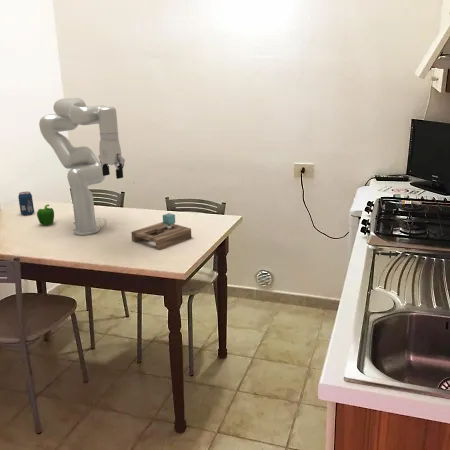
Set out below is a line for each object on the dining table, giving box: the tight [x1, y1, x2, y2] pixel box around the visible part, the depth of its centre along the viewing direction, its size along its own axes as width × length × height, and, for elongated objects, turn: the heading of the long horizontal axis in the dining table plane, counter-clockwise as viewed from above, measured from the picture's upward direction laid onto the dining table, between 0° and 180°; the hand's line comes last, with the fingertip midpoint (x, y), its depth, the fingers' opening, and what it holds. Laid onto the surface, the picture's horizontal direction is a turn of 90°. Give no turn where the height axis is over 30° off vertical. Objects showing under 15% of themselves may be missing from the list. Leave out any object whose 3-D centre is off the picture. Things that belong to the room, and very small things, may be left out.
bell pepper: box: [36, 203, 55, 226], centre depth 255 cm, size 8×8×10 cm
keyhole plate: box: [130, 221, 192, 251], centre depth 230 cm, size 18×20×4 cm
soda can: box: [17, 191, 35, 217], centre depth 274 cm, size 7×7×12 cm
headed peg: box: [162, 212, 176, 229], centre depth 232 cm, size 5×5×10 cm
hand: (113, 176), depth 218 cm, fingers open, 9 cm apart
